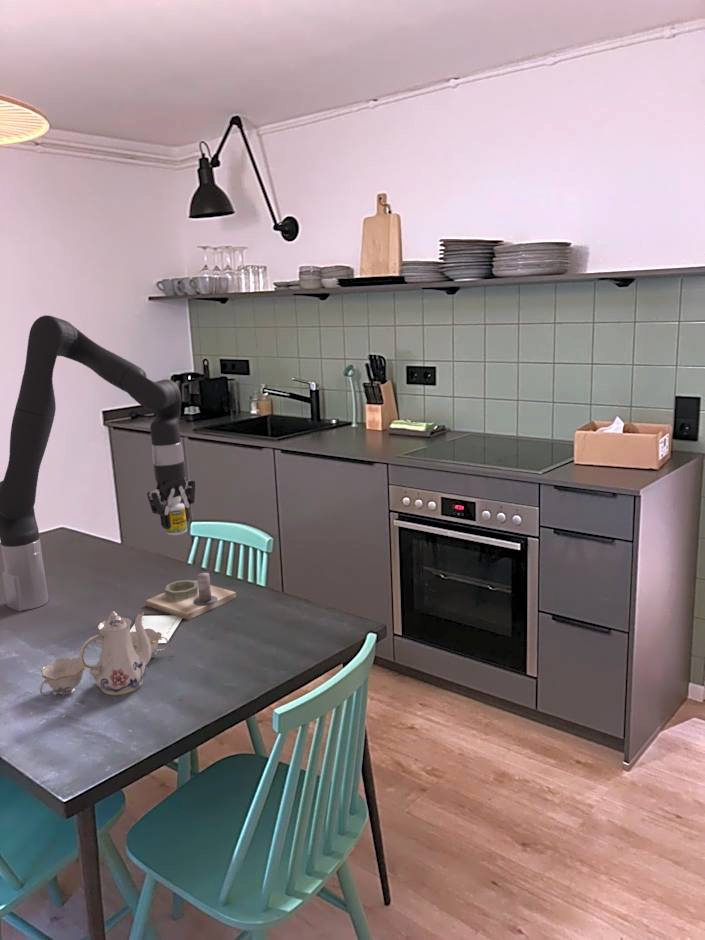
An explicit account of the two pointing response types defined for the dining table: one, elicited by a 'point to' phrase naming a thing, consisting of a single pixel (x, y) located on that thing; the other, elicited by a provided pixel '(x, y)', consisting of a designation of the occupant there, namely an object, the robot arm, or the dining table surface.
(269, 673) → the dining table surface
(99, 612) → the dining table surface
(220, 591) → the board
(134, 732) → the dining table surface
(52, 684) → the chinaware
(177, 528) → the supplement bottle
